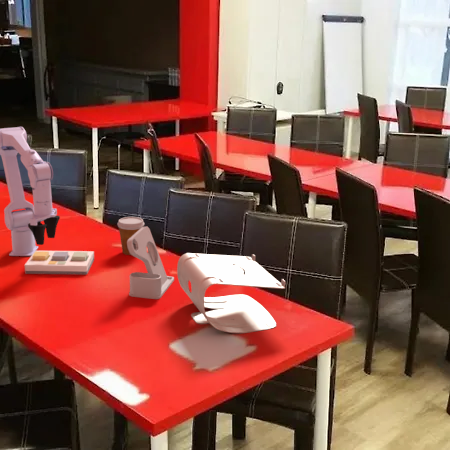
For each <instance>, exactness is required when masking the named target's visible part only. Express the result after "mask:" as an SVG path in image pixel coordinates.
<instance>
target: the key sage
mask: <svg viewBox="0 0 450 450" xmlns="http://www.w3.org/2000/svg"><path fill="white" fill-rule="evenodd" d="M87 258H88V252H74V254H73V255H72V261H86V260H87Z"/></svg>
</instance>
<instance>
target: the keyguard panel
mask: <svg viewBox="0 0 450 450" xmlns="http://www.w3.org/2000/svg"><path fill="white" fill-rule="evenodd" d="M36 251H37V252H49V258H48V260H47V261H43V260H32V256H33V255H32V256H29V259H28V260H27V261H26V262H25V264H24V274H25V275H27V274H28V275H34V274H35V275H88V274H89V272H90V269H91V268H92V265H93V263H94V261H95V251H91V250H90V251H89V250H88V251H87V250H84V251H83V250H36ZM36 251H35V252H36ZM35 252H34V253H35ZM55 252H68V259H67V261H52V256H53V254H54V253H55ZM74 252H88V258H87V260H86V261H72V255H73V254H74ZM34 253H33V254H34Z"/></svg>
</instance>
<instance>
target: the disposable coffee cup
mask: <svg viewBox="0 0 450 450" xmlns="http://www.w3.org/2000/svg"><path fill="white" fill-rule="evenodd" d="M117 227H118V231H119V236H120V237H119V238H120V243H121V248H122V249H121V250H122V254H124V255H127V256H132V255H131V254H130V252H129V250H128V247H127V241H128V239H129V238H131V237H132V236H133V235H134V234H135V233H136V232H137V231H138V230H139V229H141V228H142V227H145V222H144V219H143V218H141V217H137V216H127V217H126V216H125V217H122V218H120V219H118V222H117Z"/></svg>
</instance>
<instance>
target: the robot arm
mask: <svg viewBox="0 0 450 450" xmlns="http://www.w3.org/2000/svg"><path fill="white" fill-rule="evenodd" d="M18 154H19V155H20V161H21V163H22V164H23V167H25V169H26V171H27V176H28V180H29V184H30V187H31V188H32V201H33V203H31V202H30V201H28V200H26V197H25V191H24V187H23V181H22V177H21V172H20V168H19V163H18V157H17V155H18ZM0 157H1V160H2V164H3V165H2V166H3V169H4V174H5V180H6V184H7V190H8V194H9V201H10V202H9V203H8V205H6V207H5V208H4V209H3V212H4V224H5V227H6V228H7V229H8V230H9V231H10V233H11V235H10V236H11V246H12V247H11V248H12V249H11V252H9V254H8V255H9V256H11V257H19V256H20V257H31V256H32V255H33V253H34V252H35V251H38V249H39V246H42V245H44V244H45V232H46V236H47V238H48V239H55V237H56V232H57V226H58V223H59V221H60V219H61V217H60V215H58V209H57V208H54V207H53V197H52V186H51V181H53V178H54V171H53V166H52V165H51V163H50V162H49V161H46V160H45V161H44V160H43V159H42V158H41V156H40V155H39V153H38V152H37V151H36V150H35V149H33V148H32V149H31V147H30V146H29V144H28V135H27V131H26V130H25V128H24V127H23V126H17V127H4V128H0ZM42 222H43V224H42Z"/></svg>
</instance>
